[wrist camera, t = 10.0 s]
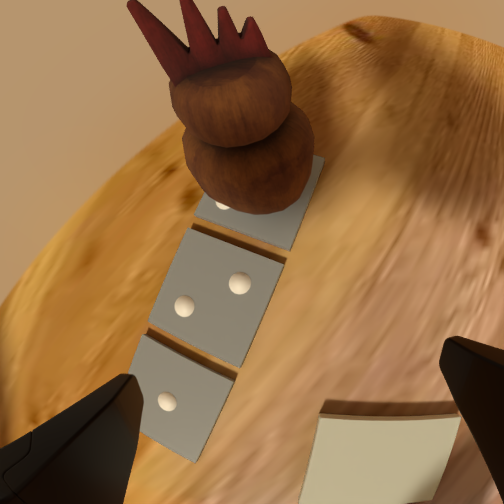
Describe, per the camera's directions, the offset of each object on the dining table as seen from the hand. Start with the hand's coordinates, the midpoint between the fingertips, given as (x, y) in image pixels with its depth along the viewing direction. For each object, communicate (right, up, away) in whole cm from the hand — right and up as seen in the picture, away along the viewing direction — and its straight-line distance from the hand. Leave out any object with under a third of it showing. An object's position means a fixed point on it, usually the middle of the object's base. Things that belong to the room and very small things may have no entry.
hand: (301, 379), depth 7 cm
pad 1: (-1, +8, +13) cm, 15 cm away
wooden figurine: (-1, +8, +13) cm, 15 cm away
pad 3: (-7, -7, +11) cm, 15 cm away
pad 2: (-4, 0, +12) cm, 13 cm away
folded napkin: (+7, -11, +7) cm, 15 cm away
